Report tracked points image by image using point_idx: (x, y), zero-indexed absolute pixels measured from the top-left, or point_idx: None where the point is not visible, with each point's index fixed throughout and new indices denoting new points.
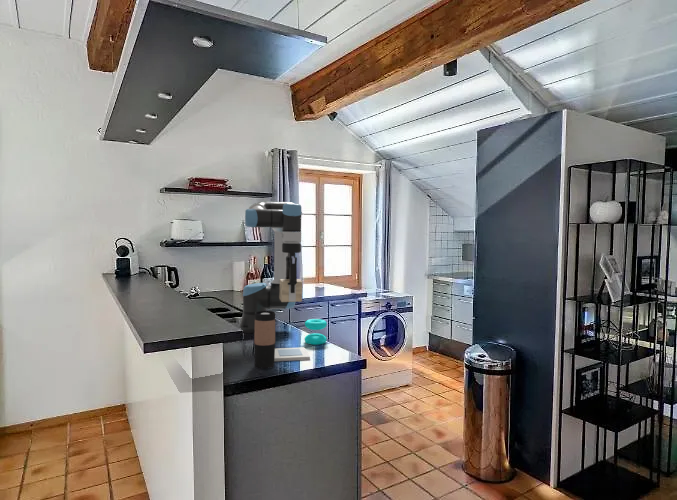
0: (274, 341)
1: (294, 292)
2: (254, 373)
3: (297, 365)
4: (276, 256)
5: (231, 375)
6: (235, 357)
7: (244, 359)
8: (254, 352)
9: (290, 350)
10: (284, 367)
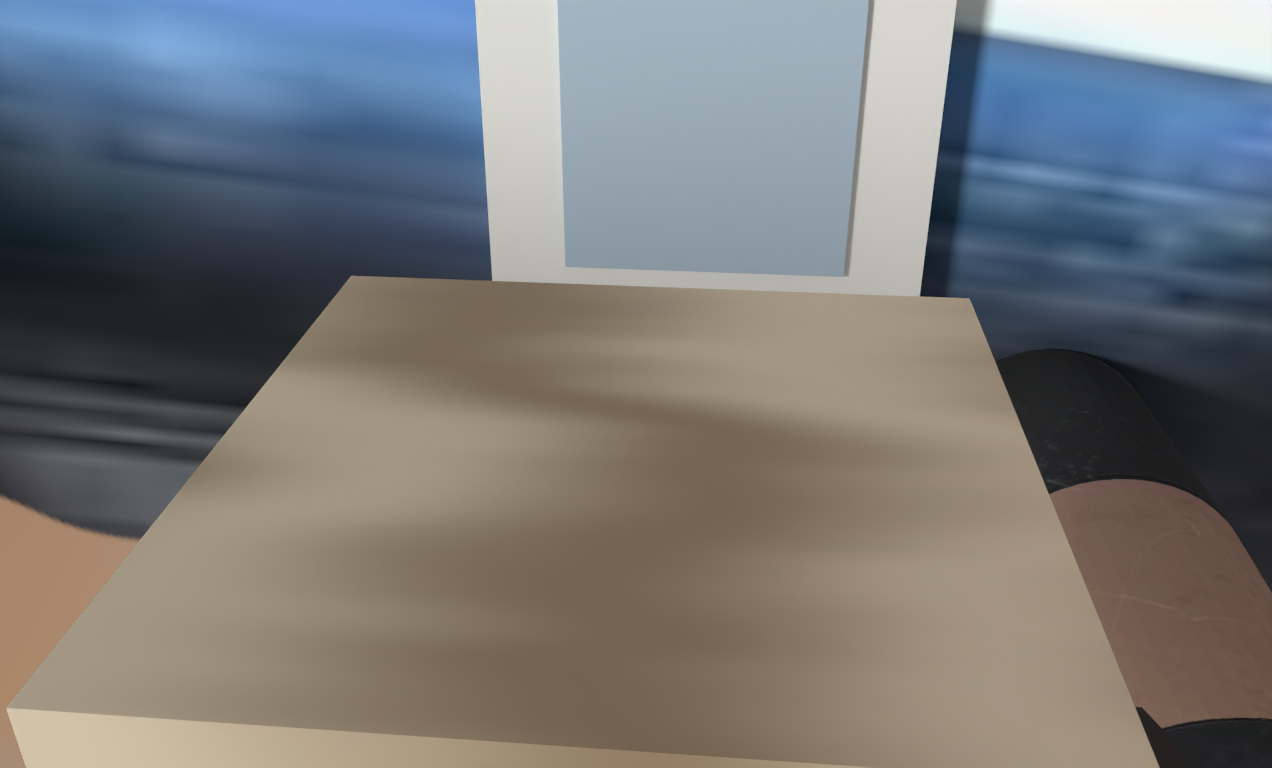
0: (1200, 510)
1: (1155, 724)
2: (1249, 543)
3: (1154, 93)
4: None
5: None
6: None
7: None
8: None
9: (633, 116)
10: (1172, 251)
